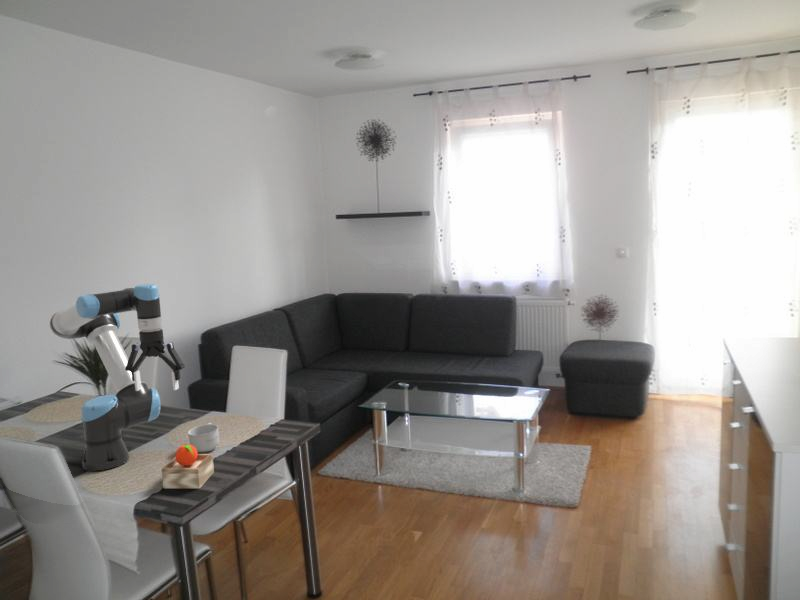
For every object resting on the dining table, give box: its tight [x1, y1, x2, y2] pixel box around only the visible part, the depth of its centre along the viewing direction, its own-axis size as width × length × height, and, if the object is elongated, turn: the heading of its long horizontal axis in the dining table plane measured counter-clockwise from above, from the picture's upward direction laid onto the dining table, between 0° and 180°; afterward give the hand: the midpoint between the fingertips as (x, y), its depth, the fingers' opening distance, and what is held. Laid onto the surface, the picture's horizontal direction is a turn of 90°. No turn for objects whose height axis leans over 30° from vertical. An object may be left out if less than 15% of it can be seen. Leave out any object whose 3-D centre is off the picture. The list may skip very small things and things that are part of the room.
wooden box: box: [161, 453, 215, 489], centre depth 206 cm, size 12×12×6 cm
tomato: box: [174, 443, 199, 466], centre depth 206 cm, size 8×7×7 cm
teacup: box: [187, 422, 220, 453], centre depth 233 cm, size 14×11×8 cm
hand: (157, 389), depth 218 cm, fingers open, 13 cm apart
